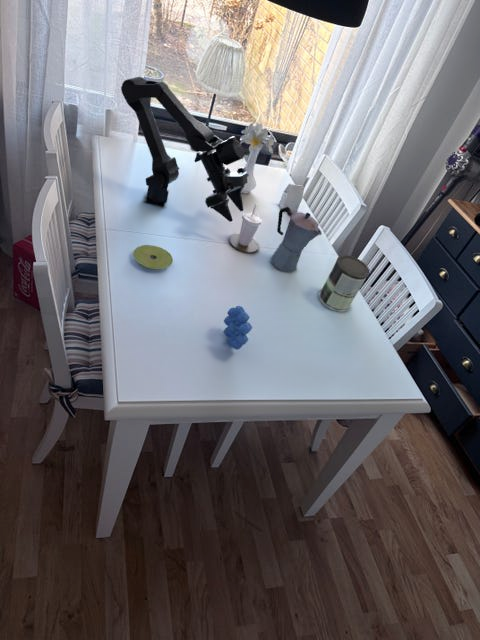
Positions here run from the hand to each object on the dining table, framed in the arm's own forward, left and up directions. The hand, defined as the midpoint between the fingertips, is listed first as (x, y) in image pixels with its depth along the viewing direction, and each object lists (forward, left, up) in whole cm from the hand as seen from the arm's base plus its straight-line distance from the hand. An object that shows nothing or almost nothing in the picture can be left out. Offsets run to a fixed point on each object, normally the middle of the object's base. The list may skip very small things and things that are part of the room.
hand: (236, 216), depth 154 cm
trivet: (+5, -2, -8) cm, 10 cm away
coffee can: (+34, -22, -9) cm, 41 cm away
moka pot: (+18, -8, -9) cm, 21 cm away
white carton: (+24, +32, -9) cm, 41 cm away
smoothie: (+5, -2, -8) cm, 9 cm away
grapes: (+1, -50, -9) cm, 51 cm away
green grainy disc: (-23, -23, -9) cm, 34 cm away
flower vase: (+5, +38, -9) cm, 39 cm away
